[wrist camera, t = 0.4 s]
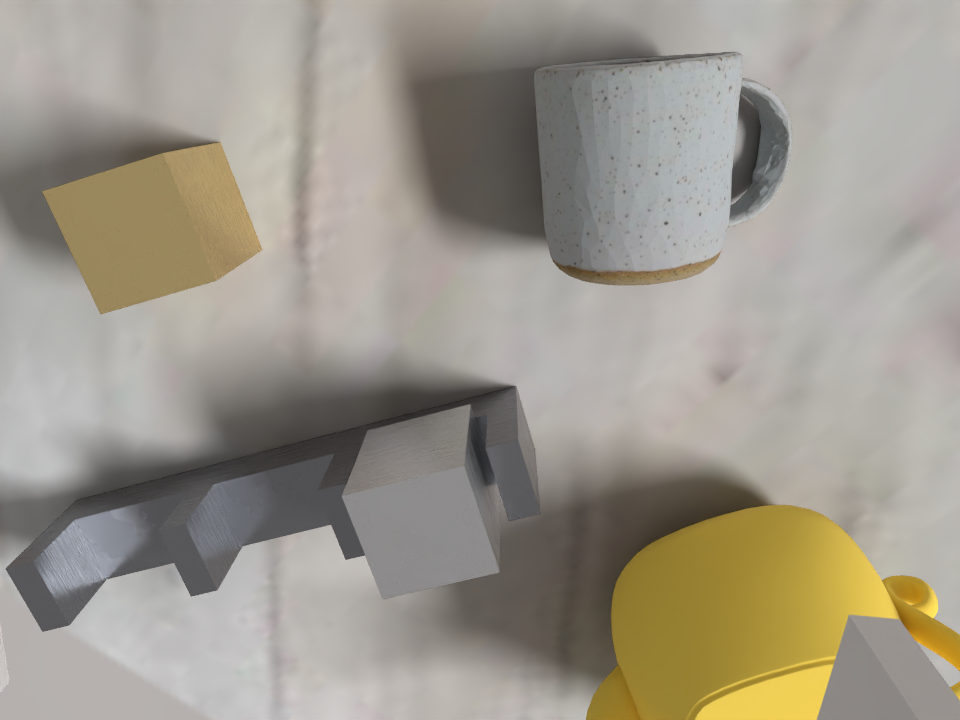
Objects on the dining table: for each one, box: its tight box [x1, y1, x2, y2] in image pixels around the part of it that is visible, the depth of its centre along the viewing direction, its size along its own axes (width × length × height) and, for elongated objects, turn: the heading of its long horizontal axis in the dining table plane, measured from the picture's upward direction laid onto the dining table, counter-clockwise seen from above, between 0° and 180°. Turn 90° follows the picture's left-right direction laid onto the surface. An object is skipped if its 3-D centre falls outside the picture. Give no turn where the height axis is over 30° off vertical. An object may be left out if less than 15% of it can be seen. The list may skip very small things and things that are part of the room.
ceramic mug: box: [534, 52, 792, 285], centre depth 29 cm, size 11×8×8 cm
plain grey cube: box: [342, 404, 500, 599], centre depth 33 cm, size 5×5×6 cm
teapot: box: [586, 505, 960, 720], centre depth 35 cm, size 14×20×13 cm
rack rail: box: [6, 386, 541, 631], centre depth 36 cm, size 4×24×6 cm, turn 106°
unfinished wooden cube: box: [42, 142, 262, 314], centre depth 32 cm, size 5×5×6 cm
